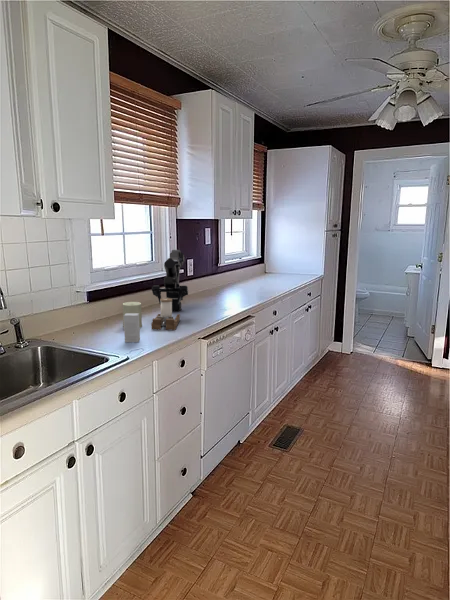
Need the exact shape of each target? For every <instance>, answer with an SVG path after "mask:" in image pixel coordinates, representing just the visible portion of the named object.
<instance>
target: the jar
mask: <svg viewBox="0 0 450 600" xmlns="http://www.w3.org/2000/svg"><path fill="white" fill-rule="evenodd" d="M160 301H161V305H160V314H161V316H169V317H173V311H172V298H167V297H161V299H160Z"/></svg>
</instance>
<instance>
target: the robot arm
mask: <svg viewBox="0 0 450 600" xmlns="http://www.w3.org/2000/svg"><path fill="white" fill-rule="evenodd" d="M184 263H185V254H184V253H183V252H182V251H181V250H180V249H171V251H170V253H169V258H167V259H166V261H165V262H164V264H163V265H164V269H165V274H166V275H165V276H164V277H163V286H164V287H161V286H160V285H152V286H151V292H152V295H153V296H154V297H156V298H157V299H158V303H159V305H160V306H161V301H160V299H161V298H162V295H161V294H162V293H165V296H166V297H165V298H172V312H179V311H182V301H183V300H184V298H185V297H186V296H188V295H189V287H188V285H180V273H181V272H180V271H181V268H182V267H183V265H184Z"/></svg>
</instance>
